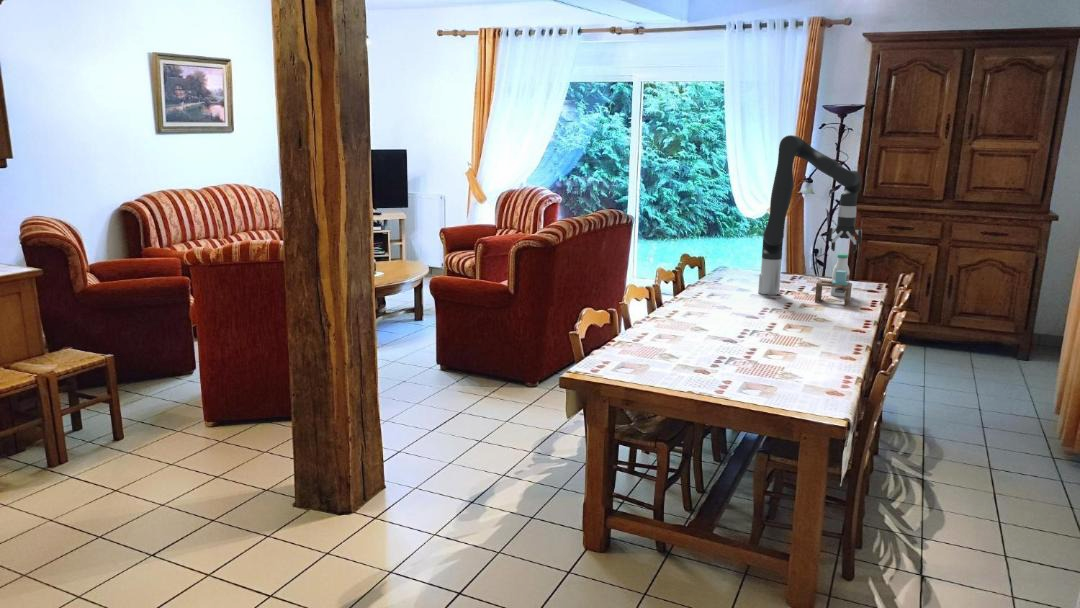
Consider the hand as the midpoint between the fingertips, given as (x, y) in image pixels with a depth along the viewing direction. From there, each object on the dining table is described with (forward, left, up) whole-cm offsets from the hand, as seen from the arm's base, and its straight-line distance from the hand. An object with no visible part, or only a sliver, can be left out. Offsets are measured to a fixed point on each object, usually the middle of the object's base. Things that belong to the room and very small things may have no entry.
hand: (843, 251), depth 348 cm
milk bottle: (-3, +18, -24) cm, 30 cm away
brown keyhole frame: (-3, 0, -24) cm, 24 cm away
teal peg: (0, 0, -19) cm, 19 cm away
